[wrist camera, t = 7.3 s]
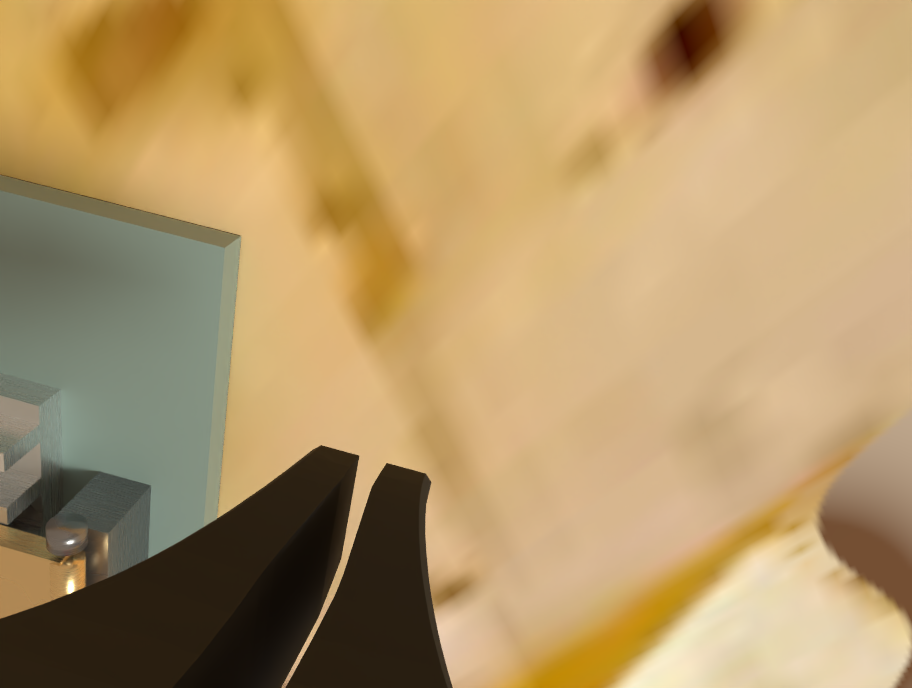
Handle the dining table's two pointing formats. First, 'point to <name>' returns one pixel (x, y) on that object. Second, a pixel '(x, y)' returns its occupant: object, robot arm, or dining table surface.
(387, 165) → the dining table surface
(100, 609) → the robot arm
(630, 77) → the dining table surface
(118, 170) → the dining table surface
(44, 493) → the heat sink
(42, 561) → the strap
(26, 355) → the base board
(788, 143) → the dining table surface
